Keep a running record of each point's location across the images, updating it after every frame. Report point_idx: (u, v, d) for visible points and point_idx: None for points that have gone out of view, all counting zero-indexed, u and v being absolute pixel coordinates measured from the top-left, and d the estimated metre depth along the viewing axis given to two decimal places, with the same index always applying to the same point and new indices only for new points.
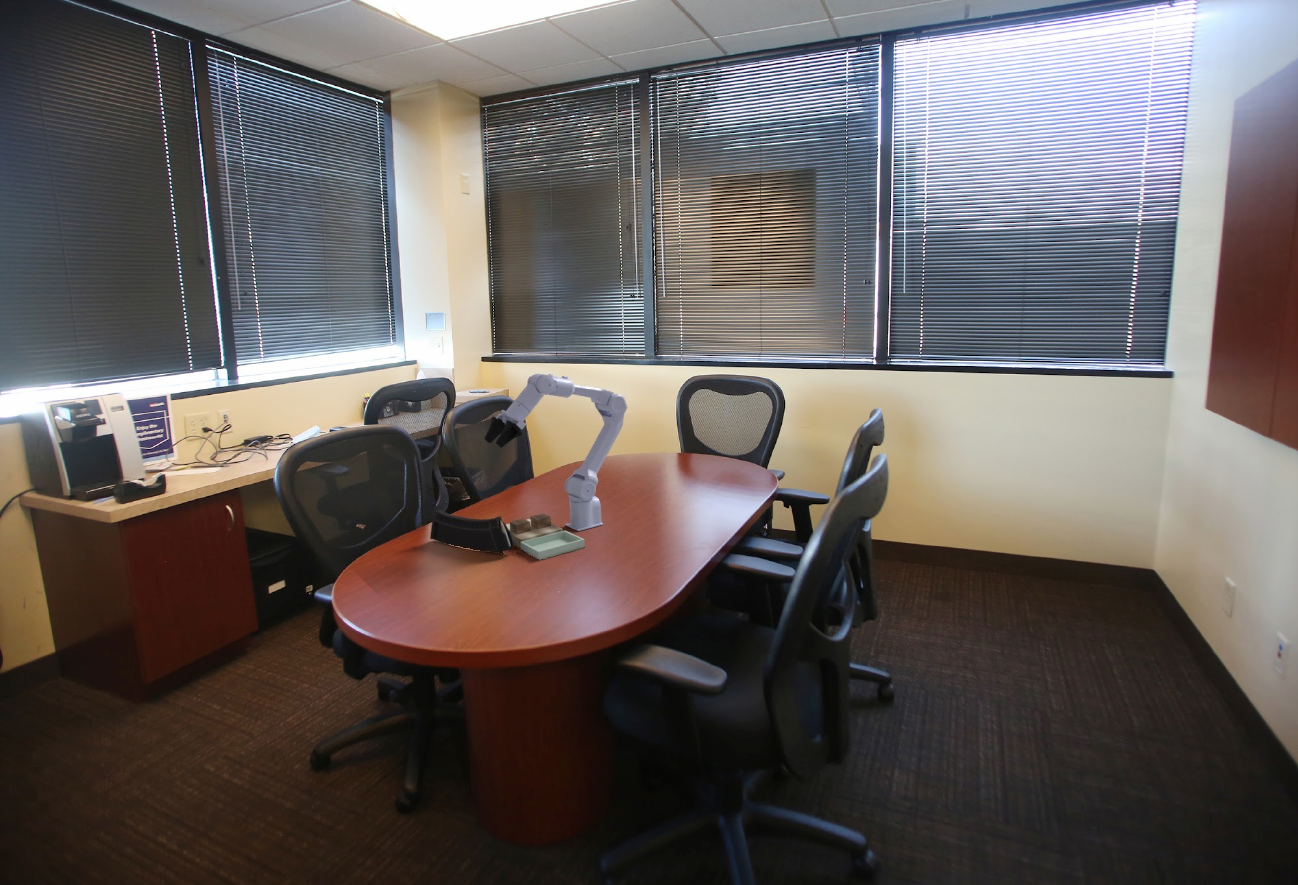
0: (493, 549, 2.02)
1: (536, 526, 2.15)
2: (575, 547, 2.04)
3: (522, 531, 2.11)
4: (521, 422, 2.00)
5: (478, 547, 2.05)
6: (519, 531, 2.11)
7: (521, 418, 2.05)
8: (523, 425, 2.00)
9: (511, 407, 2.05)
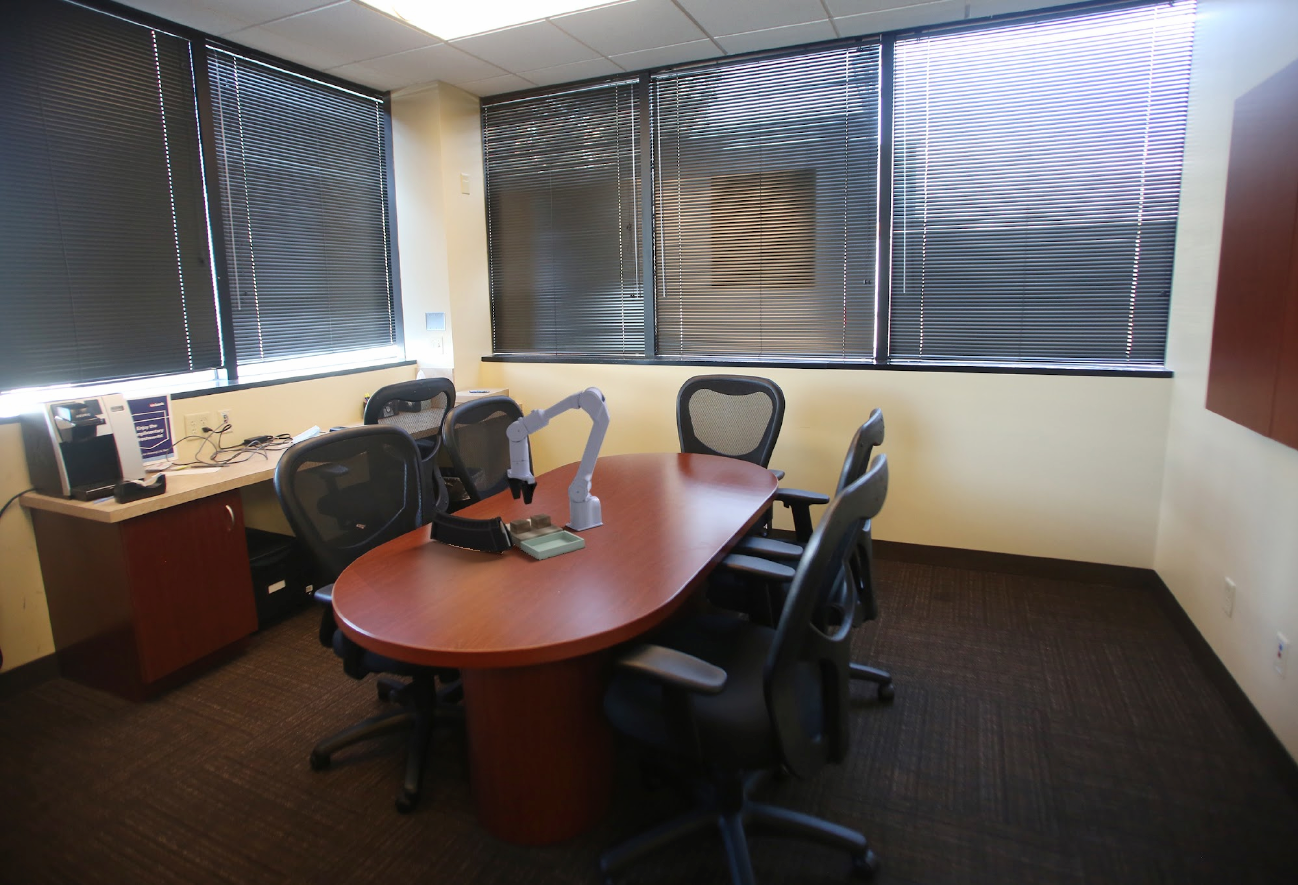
0: (493, 549, 2.02)
1: (536, 526, 2.15)
2: (575, 547, 2.04)
3: (522, 531, 2.11)
4: (529, 479, 2.17)
5: (478, 547, 2.05)
6: (519, 531, 2.11)
7: (526, 470, 2.21)
8: (533, 479, 2.18)
9: (512, 468, 2.20)
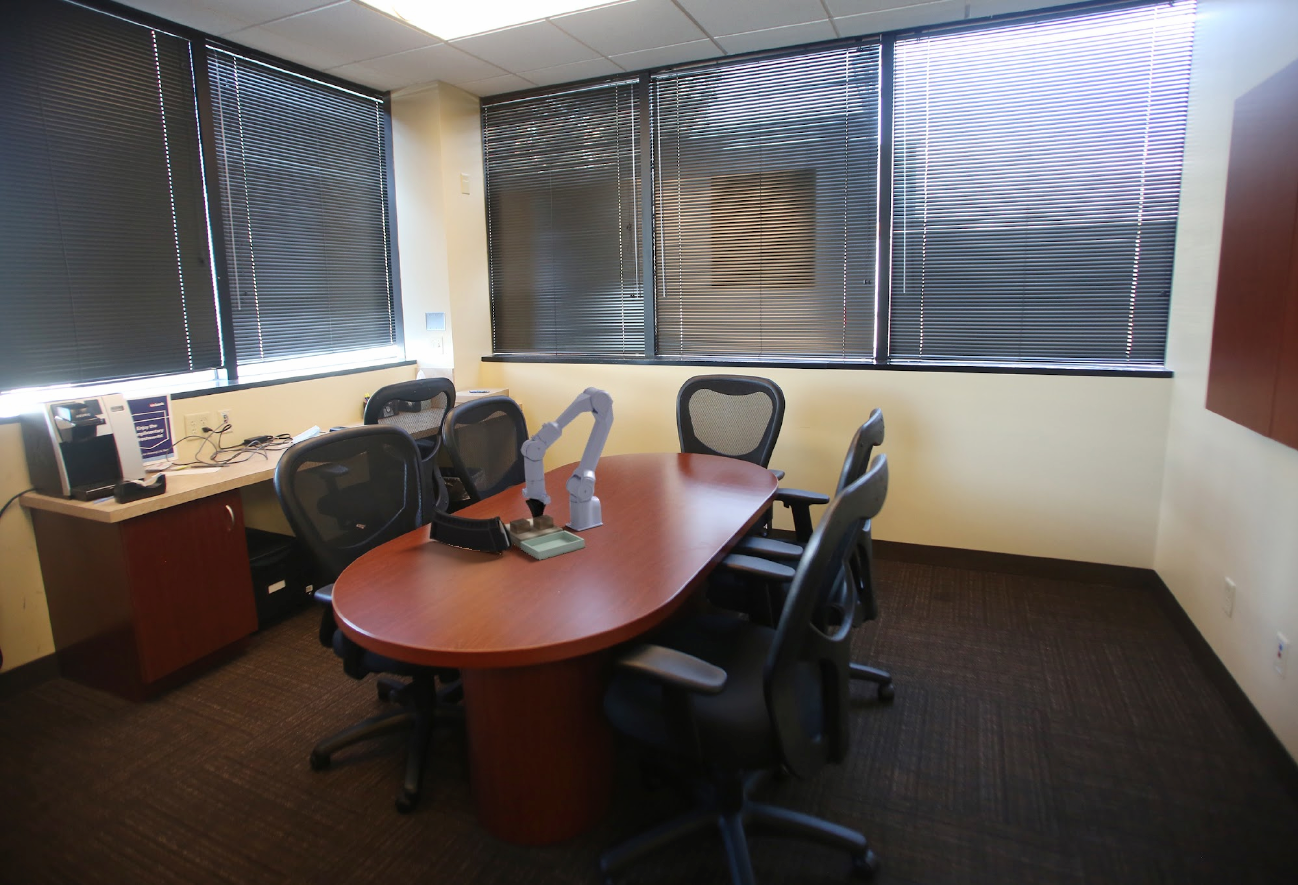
0: (492, 549, 2.02)
1: (538, 527, 2.13)
2: (575, 547, 2.04)
3: (522, 531, 2.11)
4: (545, 499, 2.11)
5: (477, 547, 2.05)
6: (519, 531, 2.11)
7: (542, 490, 2.15)
8: (549, 499, 2.11)
9: (528, 488, 2.14)
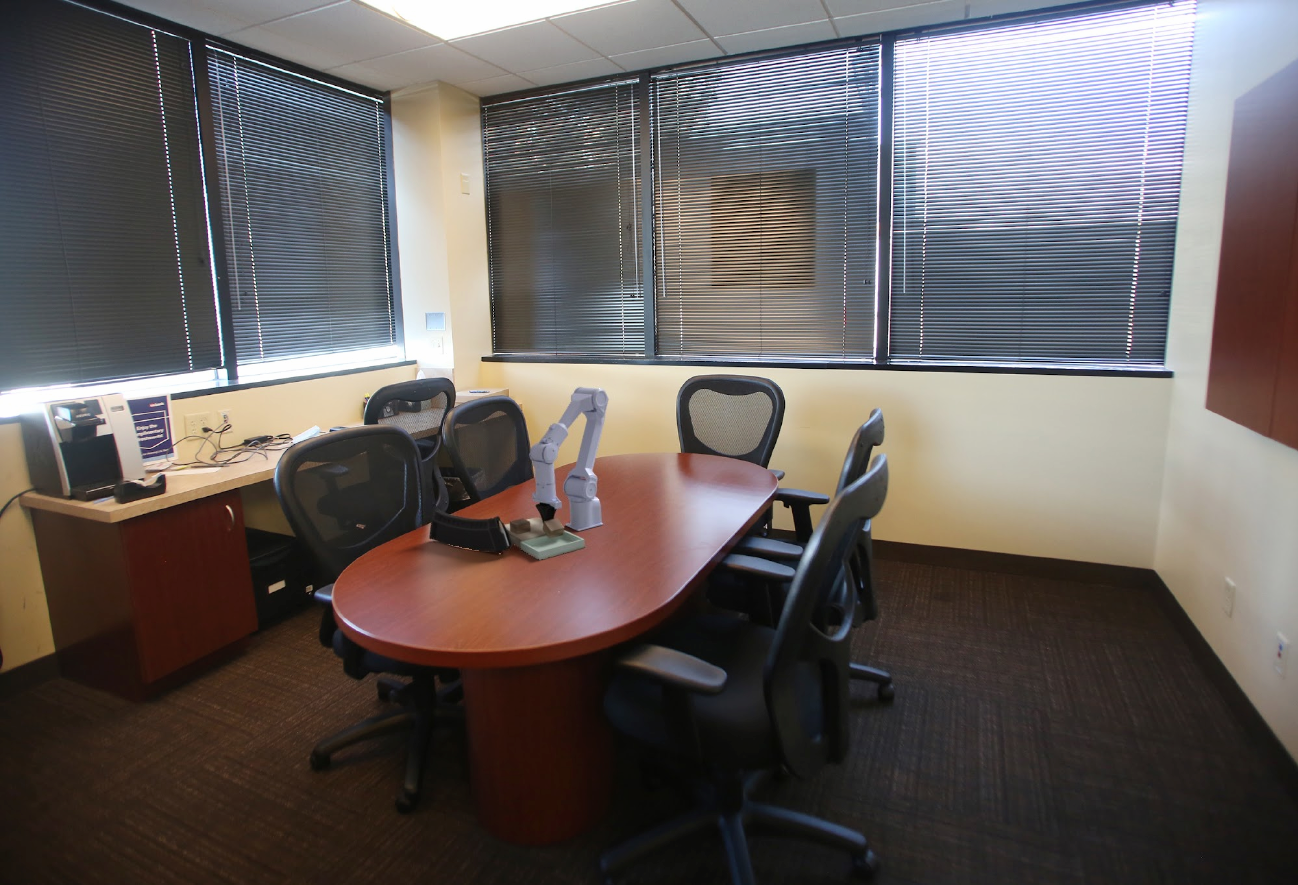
0: (492, 549, 2.02)
1: (548, 534, 2.09)
2: (575, 547, 2.04)
3: (522, 531, 2.11)
4: (556, 504, 2.06)
5: (477, 547, 2.05)
6: (519, 531, 2.11)
7: (553, 494, 2.10)
8: (560, 504, 2.06)
9: (538, 492, 2.09)
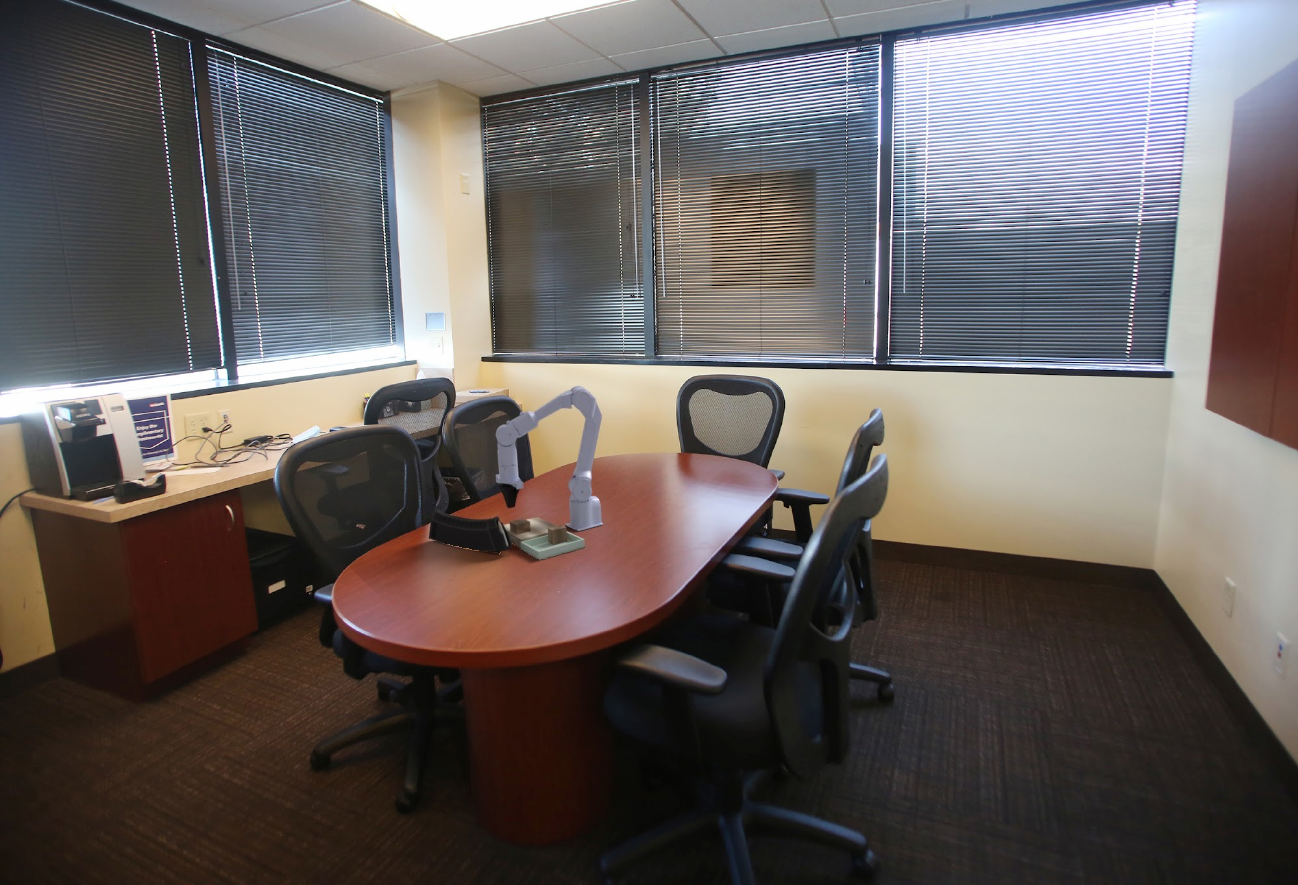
0: (491, 549, 2.02)
1: (549, 540, 2.09)
2: (575, 547, 2.04)
3: (522, 531, 2.11)
4: (518, 484, 2.11)
5: (476, 547, 2.05)
6: (519, 531, 2.11)
7: (515, 475, 2.15)
8: (521, 484, 2.12)
9: (501, 473, 2.14)
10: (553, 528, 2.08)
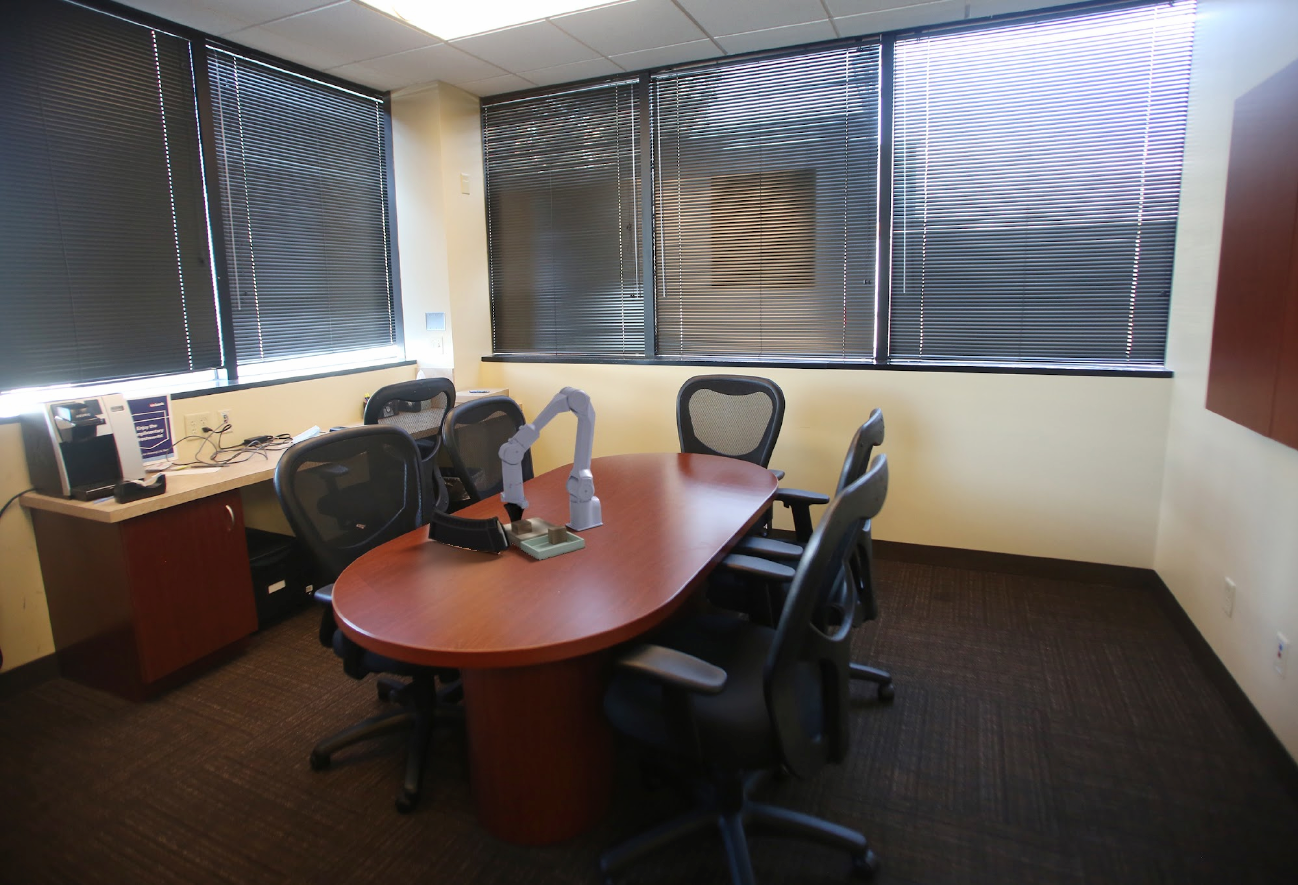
0: (490, 549, 2.02)
1: (549, 540, 2.09)
2: (575, 547, 2.04)
3: (523, 532, 2.10)
4: (523, 504, 2.07)
5: (475, 547, 2.05)
6: (521, 531, 2.10)
7: (520, 494, 2.11)
8: (526, 504, 2.08)
9: (505, 492, 2.11)
10: (553, 528, 2.08)
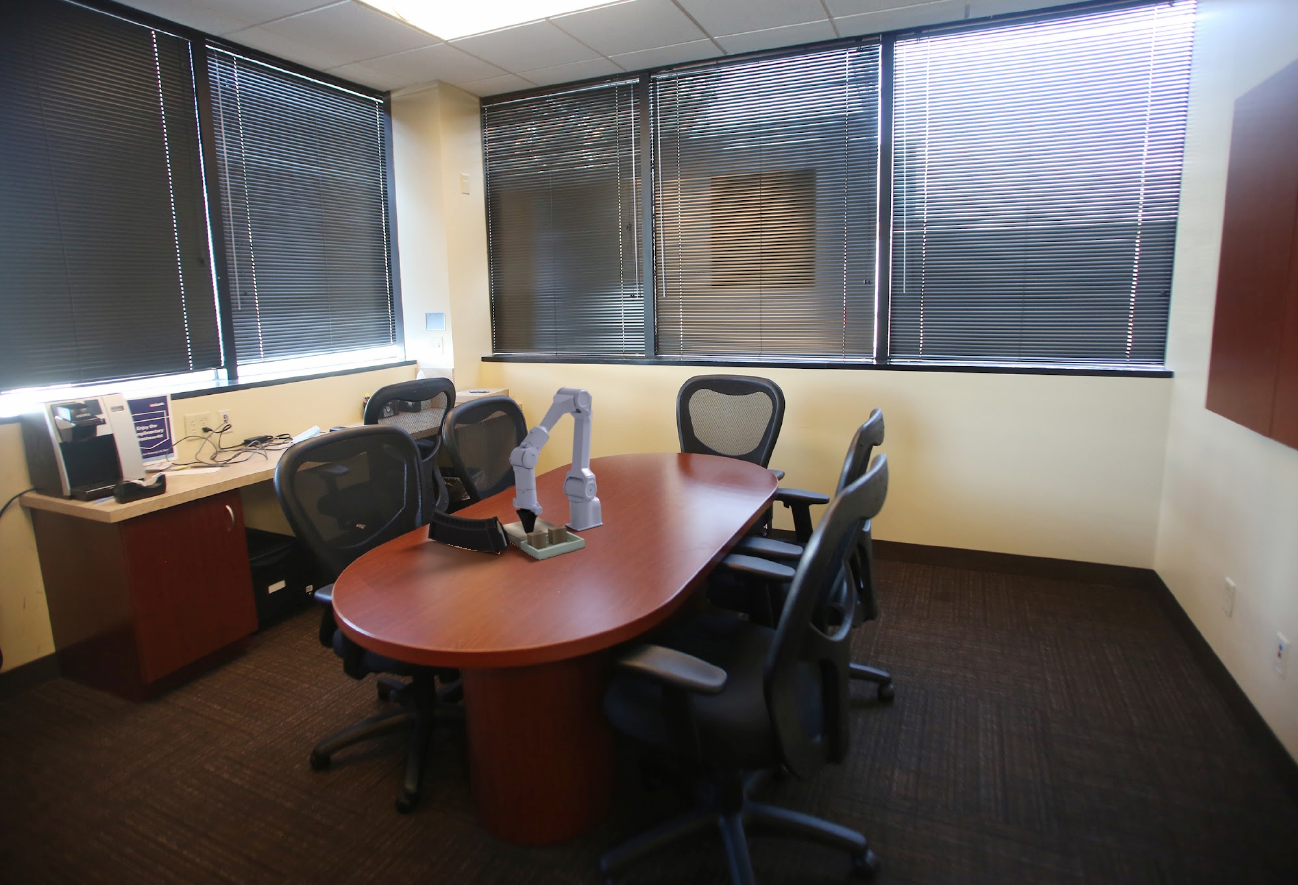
0: (490, 549, 2.02)
1: (549, 540, 2.09)
2: (575, 547, 2.04)
3: None
4: (537, 510, 2.01)
5: (475, 547, 2.05)
6: None
7: (533, 499, 2.05)
8: (540, 510, 2.01)
9: (518, 497, 2.04)
10: (553, 528, 2.08)
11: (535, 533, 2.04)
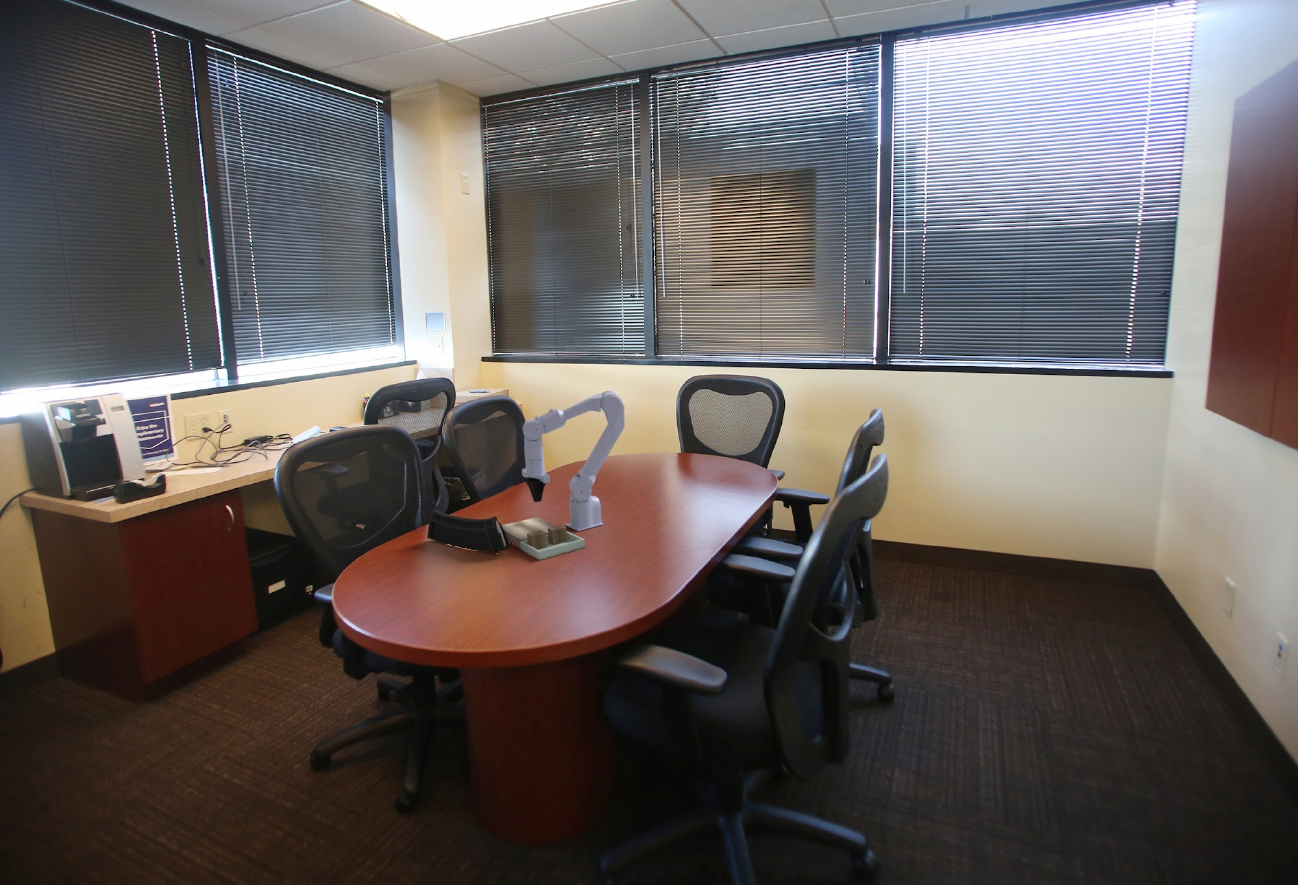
0: (489, 549, 2.02)
1: (549, 540, 2.09)
2: (575, 547, 2.04)
3: None
4: (545, 478, 2.13)
5: (474, 547, 2.05)
6: None
7: (541, 469, 2.17)
8: (548, 478, 2.14)
9: (527, 467, 2.17)
10: (553, 528, 2.08)
11: (535, 533, 2.04)
